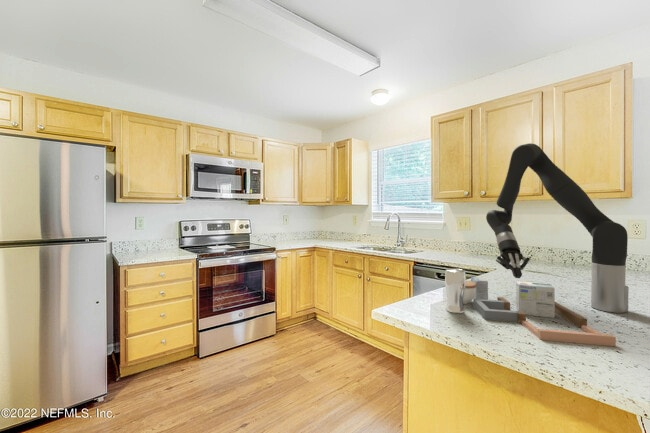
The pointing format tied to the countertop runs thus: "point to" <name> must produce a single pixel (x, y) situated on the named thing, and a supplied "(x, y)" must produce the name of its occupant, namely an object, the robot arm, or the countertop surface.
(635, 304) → the countertop surface
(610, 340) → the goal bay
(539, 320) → the countertop surface
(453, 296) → the silver metal can
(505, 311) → the frame
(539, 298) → the light bulb box
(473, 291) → the lidded jar
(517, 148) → the robot arm
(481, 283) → the medicine box
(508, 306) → the open corridor
